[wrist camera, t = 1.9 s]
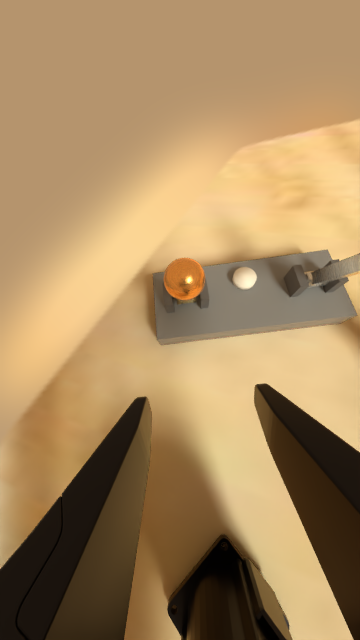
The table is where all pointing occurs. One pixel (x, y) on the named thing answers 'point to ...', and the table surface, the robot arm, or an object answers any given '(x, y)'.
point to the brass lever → (184, 280)
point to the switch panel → (253, 300)
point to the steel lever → (334, 271)
